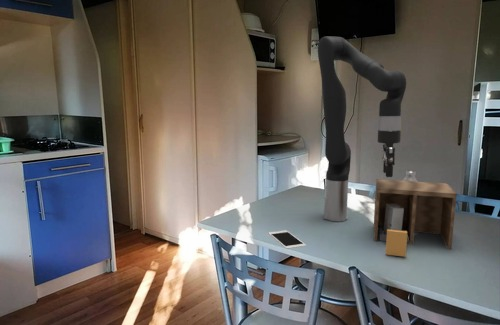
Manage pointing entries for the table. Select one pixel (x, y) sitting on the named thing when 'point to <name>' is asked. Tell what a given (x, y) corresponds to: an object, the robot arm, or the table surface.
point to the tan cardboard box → (394, 241)
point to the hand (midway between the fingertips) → (387, 174)
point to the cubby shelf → (418, 207)
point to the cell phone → (286, 239)
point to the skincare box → (393, 217)
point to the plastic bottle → (410, 176)
